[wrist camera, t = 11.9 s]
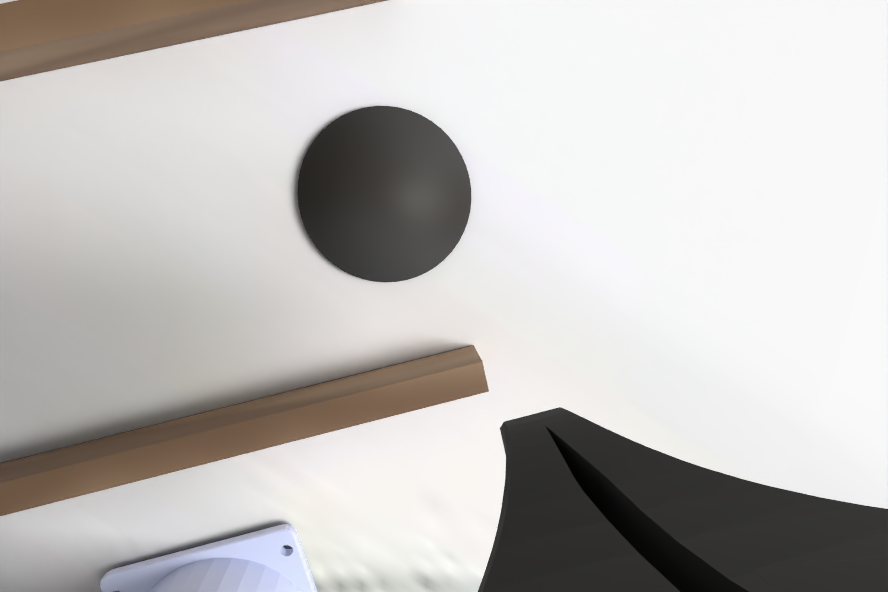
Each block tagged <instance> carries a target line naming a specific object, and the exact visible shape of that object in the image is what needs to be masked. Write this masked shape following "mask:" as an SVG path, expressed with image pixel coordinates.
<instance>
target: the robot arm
mask: <svg viewBox="0 0 888 592" xmlns="http://www.w3.org/2000/svg"><path fill="white" fill-rule="evenodd" d="M500 430H501V435H502V440H503V444H504V449H505V453H506V478H505V487H504V495H503V502H502V509H501V514H500V519H499V524H498V529H497V533H496V537H495V541H494V544H493V548H492V552H491V555H490V558H489V561H488V564H487V567H486V570H485V573H484V576H483V579H482V582H481V585H480V587H479V590H478V592H888V509H884V508H877V507H870V506H864V505H858V504H853V503H847V502H842V501H836V500H831V499H825V498H820V497H815V496H811V495H806V494H802V493H797V492H793V491H788V490H784V489H779V488H775V487H770V486H766V485H762V484H758V483H754V482H751V481H747V480H743V479H740V478H736V477H733V476H730V475H726V474H723V473H719V472H716V471H713V470H709V469H706V468H703V467H700V466H697V465H694V464H691V463H688V462H685V461H682V460H680V459H677V458H674V457H672V456H669V455H666V454H664V453H661V452H659V451H656V450H653V449H651V448H648V447H646V446H644V445H641V444H639V443H636V442H634V441H632V440H629V439H627V438H625V437H623V436H620V435H618V434H616V433H614V432H612V431H610V430H607V429H605V428H603V427H601V426H599V425H597V424H595V423H593V422H591V421H589V420H587V419H584V418H582V417H580V416H578V415H576V414H574V413H572V412H570V411H568V410H565V409H563V408H556V409H552V410H548V411H544V412H540V413H536V414H533V415H529V416H525V417H521V418H517V419H513V420H509V421H506V422H504V423H503V424H502V426H501V427H500ZM284 545H289V546H291V547H292V549H285V548H284V547H283V546H284ZM100 589H101V591H102V592H117V591H120V592H317V590H316V587H315V584H314V581H313V578H312V575H311V572H310V569H309V566H308V563H307V560H306V557H305V554H304V551H303V548H302V545H301V543H300V540H299V537H298V534H297V531H296V530H295V528H294V527H292V526H291V525H288V524H283V525H278V526H274V527H270V528H267V529H263V530H259V531H255V532H252V533H248V534H244V535H240V536H236V537H233V538H229V539H225V540H221V541H217V542H214V543H210V544H206V545H202V546H199V547H195V548H191V549H187V550H183V551H180V552H176V553H172V554H168V555H165V556H161V557H157V558H153V559H149V560H146V561H142V562H138V563H134V564H130V565H127V566H123V567H119V568H115V569H112V570H110V571H108V572H107V573H106V574H105V575H104V577H103V578H102V579H101V581H100Z"/></svg>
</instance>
